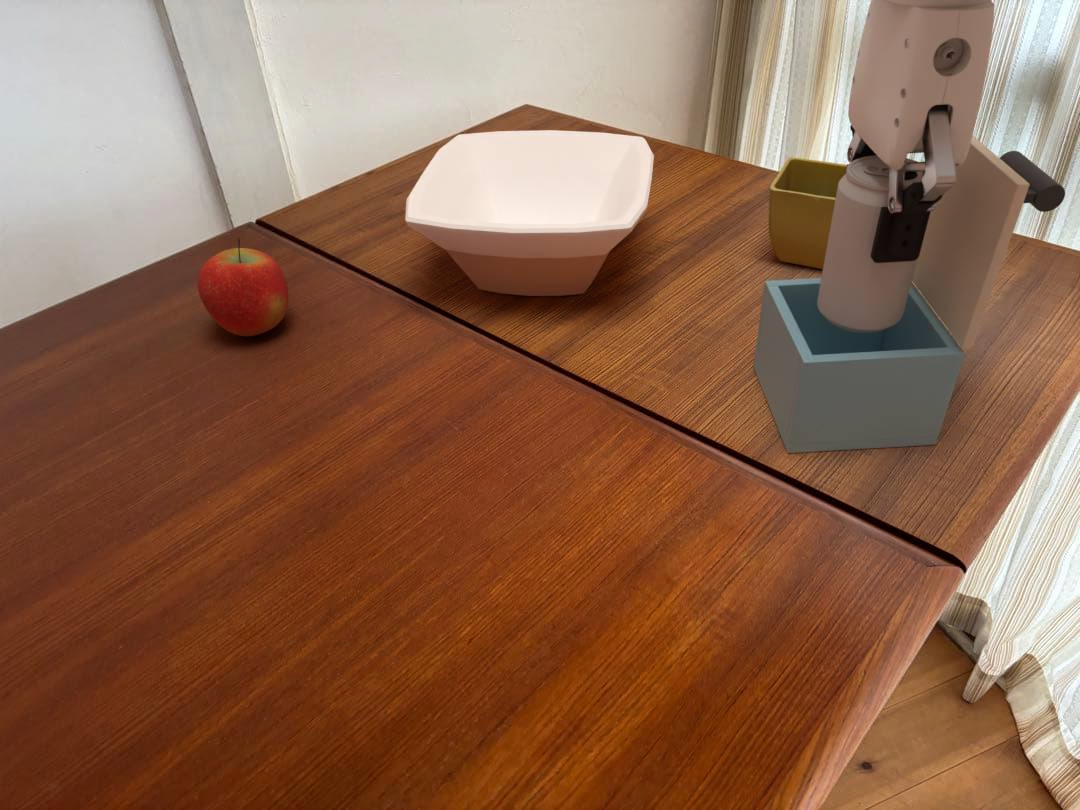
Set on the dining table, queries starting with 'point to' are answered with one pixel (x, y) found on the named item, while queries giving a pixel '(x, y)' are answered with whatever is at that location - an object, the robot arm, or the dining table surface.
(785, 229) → the flower pot
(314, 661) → the dining table surface
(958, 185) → the lid
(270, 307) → the apple
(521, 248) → the bowl
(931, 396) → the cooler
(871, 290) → the beverage can
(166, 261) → the dining table surface
